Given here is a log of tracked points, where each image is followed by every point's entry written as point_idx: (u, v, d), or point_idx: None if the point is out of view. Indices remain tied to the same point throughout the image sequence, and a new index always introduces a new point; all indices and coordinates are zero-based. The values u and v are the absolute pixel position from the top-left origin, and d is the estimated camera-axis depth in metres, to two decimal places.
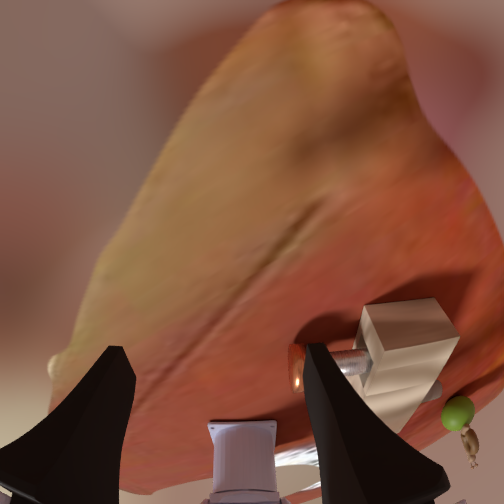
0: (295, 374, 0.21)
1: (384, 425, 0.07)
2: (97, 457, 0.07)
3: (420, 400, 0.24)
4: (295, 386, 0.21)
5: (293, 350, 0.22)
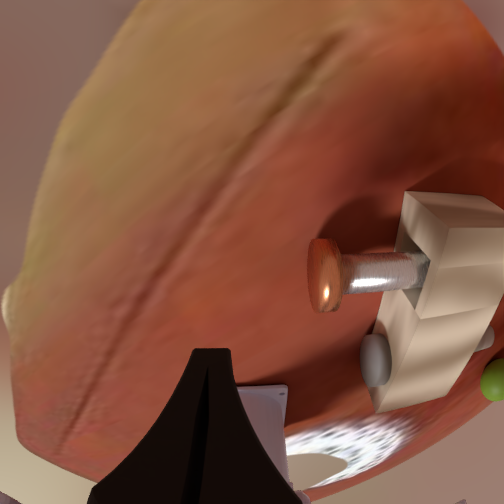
0: (323, 272, 0.15)
1: (256, 442, 0.07)
2: (201, 470, 0.07)
3: (479, 339, 0.17)
4: (324, 294, 0.15)
5: (317, 241, 0.16)
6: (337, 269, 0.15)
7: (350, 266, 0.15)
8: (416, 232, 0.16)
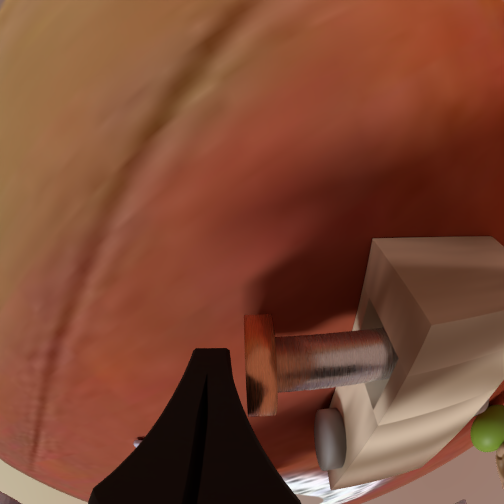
0: (247, 378, 0.09)
1: (254, 442, 0.07)
2: None
3: (466, 422, 0.12)
4: (249, 404, 0.09)
5: (246, 325, 0.10)
6: (268, 374, 0.09)
7: (295, 361, 0.10)
8: (383, 307, 0.10)
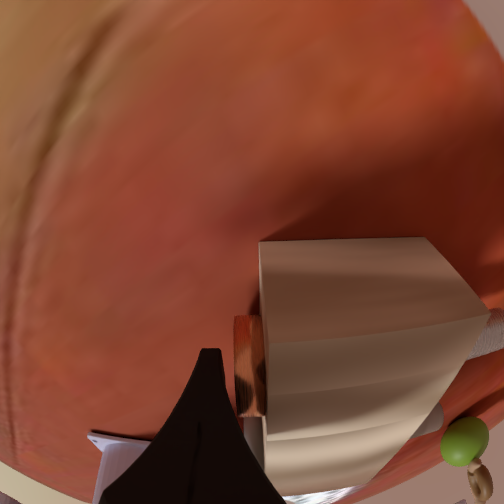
0: (236, 379, 0.09)
1: (242, 443, 0.07)
2: None
3: (400, 444, 0.12)
4: (238, 405, 0.09)
5: (235, 326, 0.10)
6: (257, 375, 0.09)
7: None
8: (262, 316, 0.10)
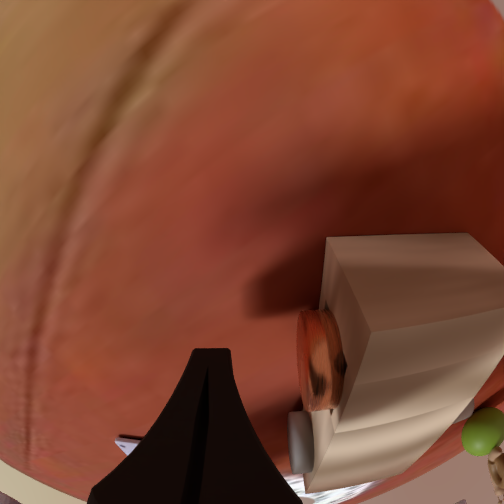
0: (315, 373, 0.09)
1: (256, 442, 0.07)
2: (201, 470, 0.07)
3: (443, 430, 0.12)
4: (315, 399, 0.09)
5: (309, 321, 0.10)
6: (335, 368, 0.09)
7: None
8: (335, 310, 0.10)
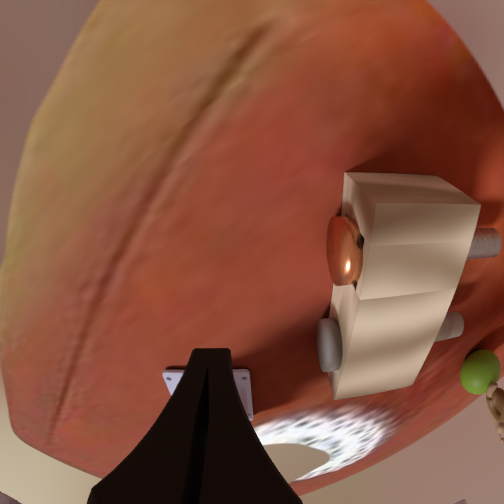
0: (345, 246, 0.16)
1: (255, 442, 0.07)
2: (201, 470, 0.07)
3: (439, 325, 0.18)
4: (346, 266, 0.16)
5: (338, 218, 0.17)
6: (357, 243, 0.16)
7: None
8: (353, 212, 0.17)
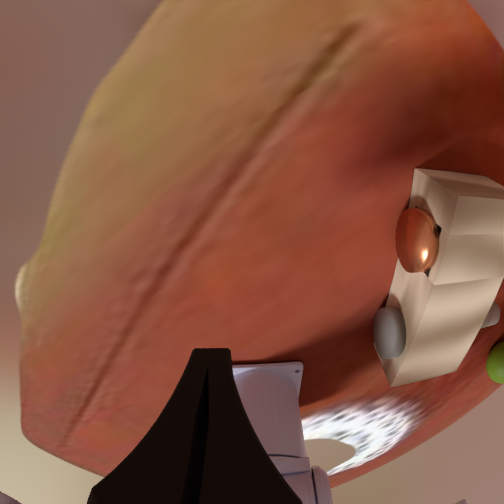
0: (425, 234, 0.15)
1: (256, 442, 0.07)
2: (201, 470, 0.07)
3: (486, 311, 0.18)
4: (426, 253, 0.16)
5: (414, 210, 0.17)
6: (435, 232, 0.15)
7: (439, 231, 0.16)
8: (427, 204, 0.17)
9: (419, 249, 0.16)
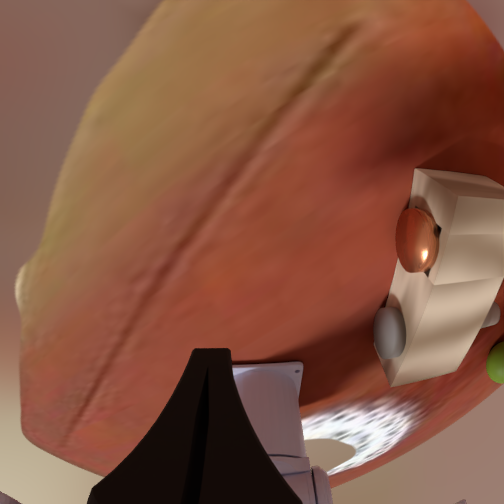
0: (425, 234, 0.15)
1: (256, 442, 0.07)
2: (201, 470, 0.07)
3: (486, 311, 0.18)
4: (426, 253, 0.16)
5: (414, 210, 0.17)
6: (435, 232, 0.15)
7: (439, 231, 0.16)
8: (427, 204, 0.17)
9: (419, 249, 0.16)
